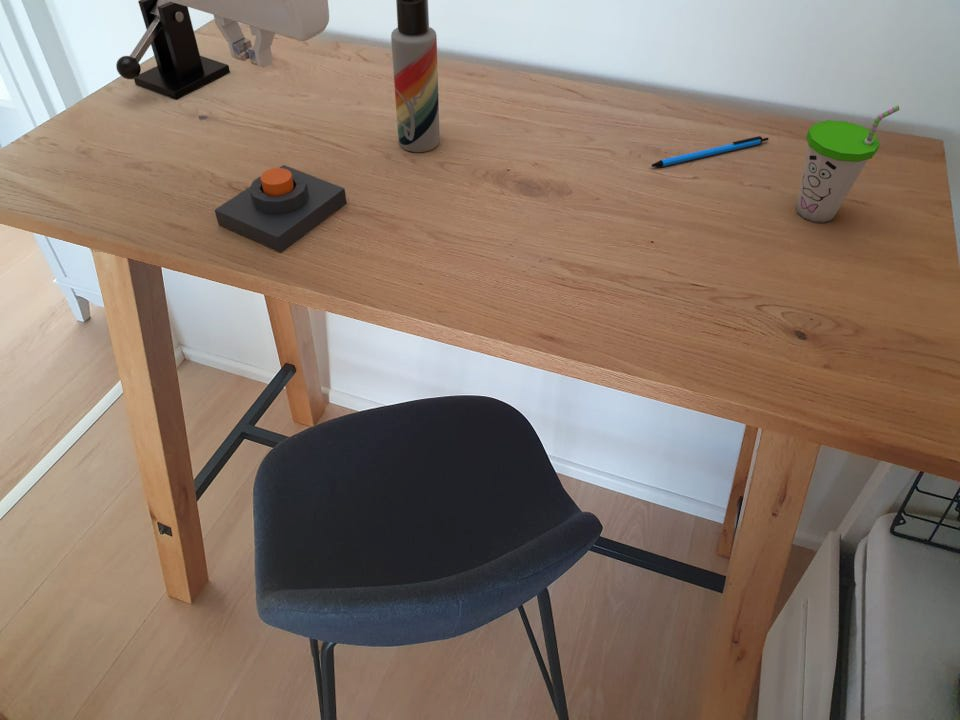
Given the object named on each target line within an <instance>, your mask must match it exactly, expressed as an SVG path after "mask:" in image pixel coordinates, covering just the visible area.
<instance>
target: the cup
mask: <svg viewBox="0 0 960 720" xmlns="http://www.w3.org/2000/svg"><path fill="white" fill-rule="evenodd" d="M898 111H900V107H899V105H896V106H893V107H892V108H890V109H888V110H886V111H884V112H882V113H880V114H878V115H877V116H876V117H875V119H874V120H873V123H872V125H871V127H870V129H867V128H866V127H864V126H862V125H859V124H855V123H853V122H849V121H843V120H824V121H819V122H815V123H813V125H812V126H810V128H809V129H808V131H807V133H806V137H805V138H806V141H807V149H806V155H805V159H804V165H803V170H802V176H801V181H800V187H799V191H798V197H797V202H796V208H795V209H796V213H797V215H799V216H800V217H801V218H803V219H804V220H807V221H809V222H812V223H820V224H825V223H828V222H832V220H833V219H834V218H835V216H836V215H837V213H838V211H839V210H840V208H841V206H842V204H843V203H844V202H845V200H846V198H847V196H848V195H849V193H850V191H851V190H852V188H853V187H854V184H855V183H856V181H857V180H858V178H859V175H860V174H861V173H862V171H863V170H864V168H865V166H866V164H867V162H868V161H869V160H871V159H873V157H874V156H875V155H876V154H877V152H878V150H879V148H880V146H881V142H880V140H879V138H878V136H877V135H876V131H877V130H878V126H879V125H880V122H881V121H882V120H883V119H884V118H886V117H889V116H890V115H893V114H895V113H897V112H898Z"/></svg>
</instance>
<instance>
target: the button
mask: <svg viewBox="0 0 960 720" xmlns="http://www.w3.org/2000/svg"><path fill="white" fill-rule="evenodd" d="M260 176H261V183H262V187H263V191H264V193H265V194H267V195H269V196H280V195H284V194H288V193H290V192H291V191H293V189H294V184H293V179H292V174H291V172H290V171H289V170H287V169H284V168H280V167H273V168H270V169H266V170H265V171H263V172H262V173H261V175H260Z"/></svg>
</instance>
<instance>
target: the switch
mask: <svg viewBox="0 0 960 720" xmlns="http://www.w3.org/2000/svg"><path fill="white" fill-rule="evenodd" d="M168 2H170V1H168V0H158V1H157V3H156V4H155V6H154V7H153V9H152V10H151V12H150V13H151V14H152V15H153V16H154V18H155V19H154V20H153V22H152V23H151V25H150V26H149V28H148V29H146V30H145V32H144V33H143V35H142V37H141V38H140V40H139V41H138V43H137V44H136V45H135V47H134V49H133V50H132V52H131V53H130V54H129V55H122V56H121V57H119V58H118V59H117V61H116V65H115V66H116V71H117V73H118V74H119V75H120V76H121V77H122V78H124V79H125V80H131V81H132V80H134V79H135V78H137V77H138V76H139V74H141V73H142V72H141V71H142V70H141V69H142V67H141V65H140V62H141V60H142V59H143V57H144V56H145V54H146V53H147V51H148V50H149V48H150V47H151V43H152V42H153V40H154V39H155V37H156V36H157V34H158V33H159V31H160V30H161V28H162V27H163V25H162V22H161V18H160V15H159V11H158V8H157V7H158V6H161V5H163V4H166V3H168Z"/></svg>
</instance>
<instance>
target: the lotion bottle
mask: <svg viewBox="0 0 960 720" xmlns="http://www.w3.org/2000/svg"><path fill="white" fill-rule="evenodd" d="M395 2H396V3H395V5H396V22H397V23H396V24H397V27H396V28H394V29H393V30H392V32H391V34H390V41H391V43H390V44H391V55H392V56H391V57H392V70H393V71H392V72H393V84H394V98H395V113H396V129H397V137H398V145H400V147H402V149H404V150H405V151H408V152H412V153H425V152H429V151H433V150H434V149H435V148H437V146H438V145H439V144H440V107H439V106H440V105H439V104H440V103H439V100H440V99H439V71H438V70H439V69H438V65H439V64H438V39H437V37H438V36H437V32H436V30H435V29H434V28H432V27H431V26H430V17H429V15H430V14H429V0H395Z"/></svg>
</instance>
